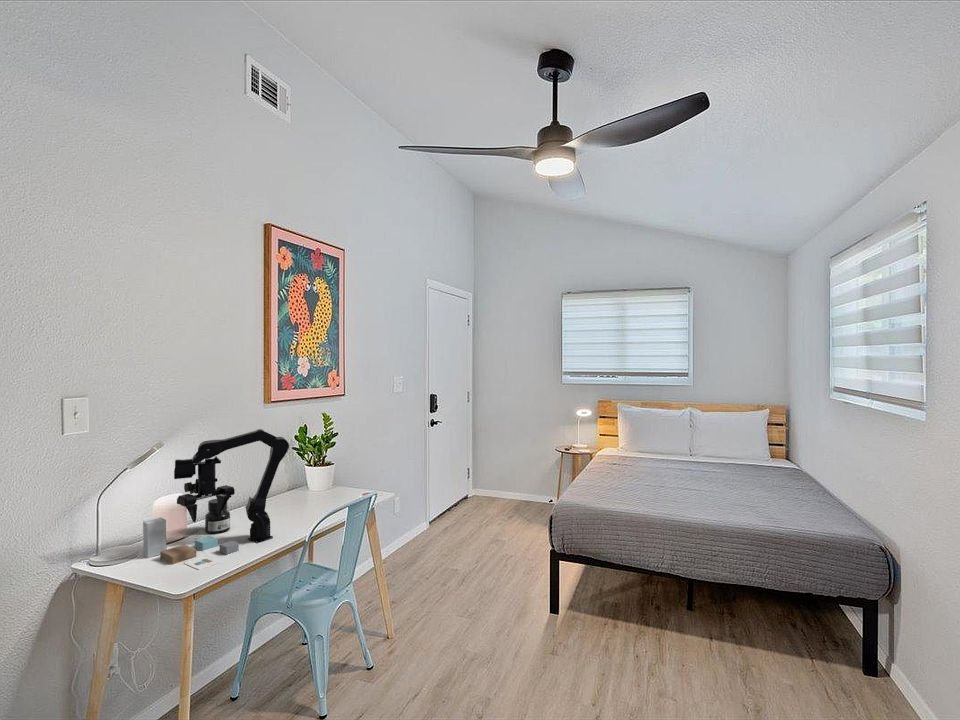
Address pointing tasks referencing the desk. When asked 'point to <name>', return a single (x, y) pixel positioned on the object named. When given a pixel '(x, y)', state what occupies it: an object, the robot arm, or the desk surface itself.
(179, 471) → the robot arm
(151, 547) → the skincare box
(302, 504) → the desk surface
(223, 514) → the ink bottle
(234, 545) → the grey block
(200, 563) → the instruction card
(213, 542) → the teal block
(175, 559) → the base block
